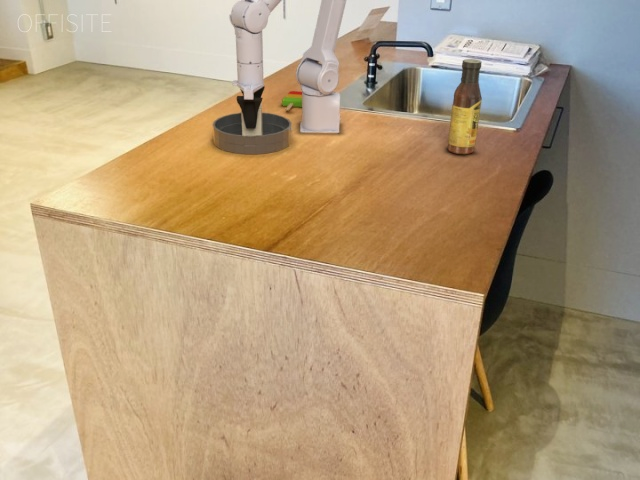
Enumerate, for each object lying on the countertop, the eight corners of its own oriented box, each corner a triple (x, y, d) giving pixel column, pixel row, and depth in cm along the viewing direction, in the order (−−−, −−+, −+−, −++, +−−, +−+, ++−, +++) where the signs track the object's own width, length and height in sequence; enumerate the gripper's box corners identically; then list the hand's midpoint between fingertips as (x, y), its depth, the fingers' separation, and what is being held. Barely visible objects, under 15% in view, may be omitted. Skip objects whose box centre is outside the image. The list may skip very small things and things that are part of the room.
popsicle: (308, 98, 192) (308, 91, 191) (297, 114, 179) (297, 106, 178) (289, 97, 192) (289, 90, 191) (276, 112, 180) (276, 105, 179)
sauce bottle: (474, 156, 154) (487, 65, 143) (446, 154, 155) (457, 63, 144) (474, 147, 160) (487, 58, 149) (447, 145, 161) (458, 56, 150)
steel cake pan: (292, 130, 167) (292, 112, 165) (290, 156, 152) (290, 136, 150) (218, 130, 167) (217, 111, 164) (209, 155, 152) (208, 135, 149)
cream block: (262, 138, 161) (261, 103, 157) (261, 144, 158) (260, 109, 153) (244, 137, 161) (242, 103, 157) (242, 144, 158) (241, 109, 153)
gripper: (234, 53, 156) (237, 113, 163) (228, 68, 143) (231, 132, 151) (265, 54, 156) (266, 113, 163) (262, 69, 144) (263, 133, 151)
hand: (252, 123), depth 157 cm, fingers open, 7 cm apart
